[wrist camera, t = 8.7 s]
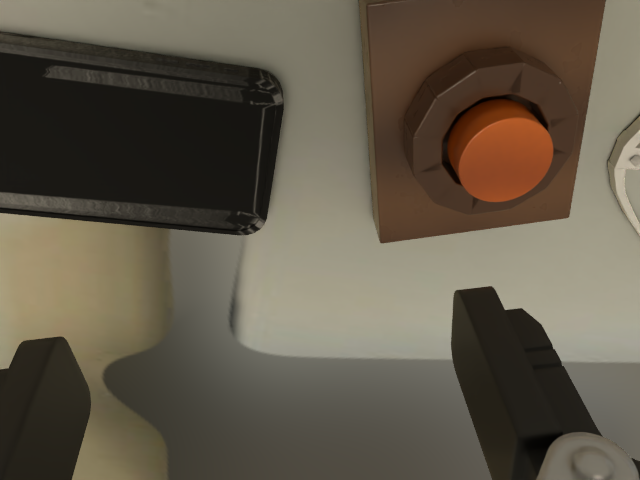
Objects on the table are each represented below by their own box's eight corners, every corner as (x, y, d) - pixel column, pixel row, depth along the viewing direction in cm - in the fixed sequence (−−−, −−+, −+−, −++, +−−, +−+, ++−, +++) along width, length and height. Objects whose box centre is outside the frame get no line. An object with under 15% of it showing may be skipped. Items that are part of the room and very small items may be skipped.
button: (447, 104, 23) (460, 125, 22) (541, 92, 23) (559, 111, 22) (445, 185, 25) (457, 208, 24) (531, 173, 25) (548, 196, 24)
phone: (263, 237, 29) (-82, 205, 26) (263, 224, 30) (-71, 191, 27) (288, 79, 24) (-126, 22, 22) (286, 69, 25) (-111, 13, 23)
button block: (357, -12, 24) (373, 18, 21) (585, -43, 24) (636, -17, 21) (372, 218, 30) (386, 268, 27) (551, 193, 30) (586, 241, 27)
